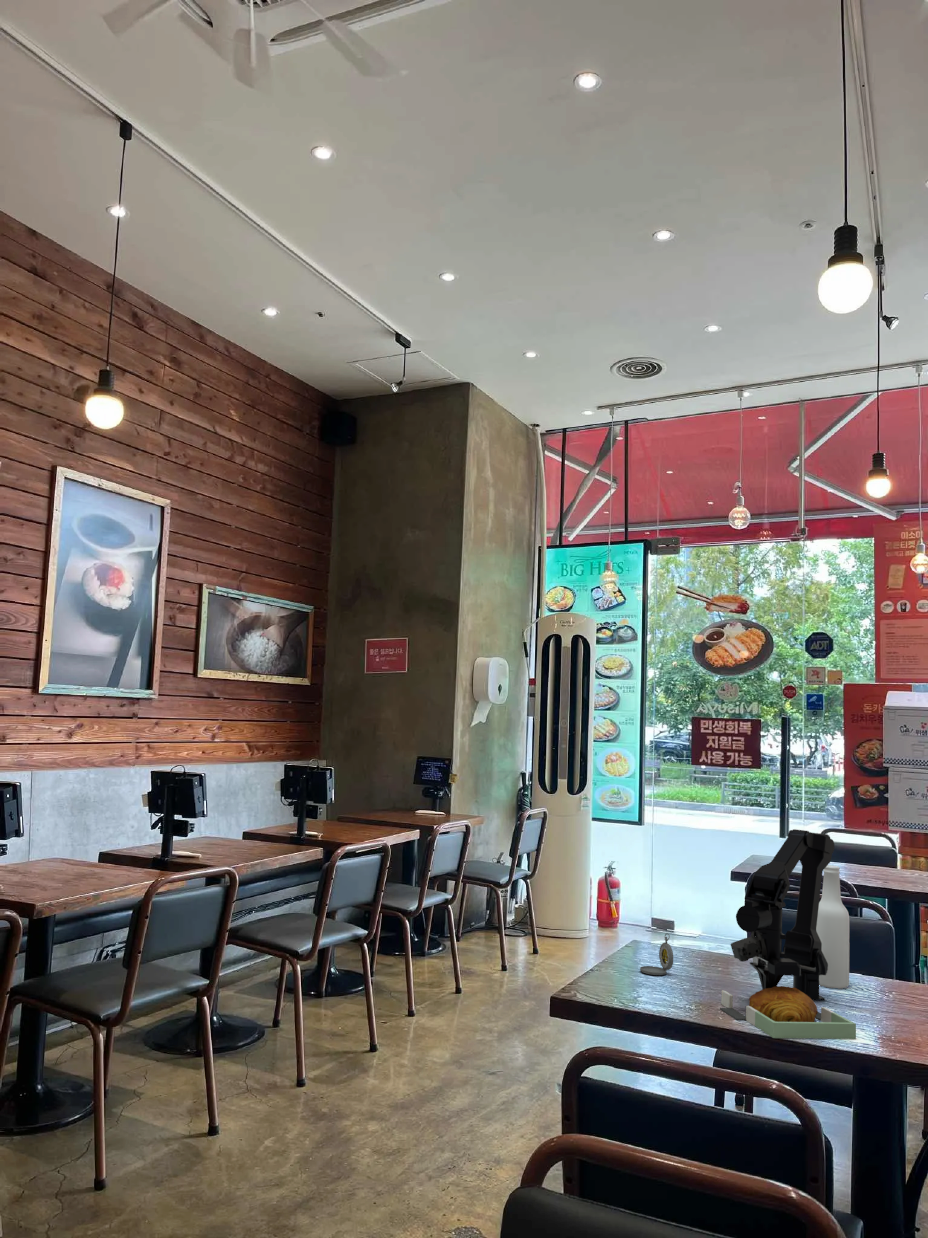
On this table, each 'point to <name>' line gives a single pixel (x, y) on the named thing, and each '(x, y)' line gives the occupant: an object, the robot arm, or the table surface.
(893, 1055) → the table surface
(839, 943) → the white bottle
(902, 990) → the table surface
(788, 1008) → the croissant
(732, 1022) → the table surface
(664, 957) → the pocket watch
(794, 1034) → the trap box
